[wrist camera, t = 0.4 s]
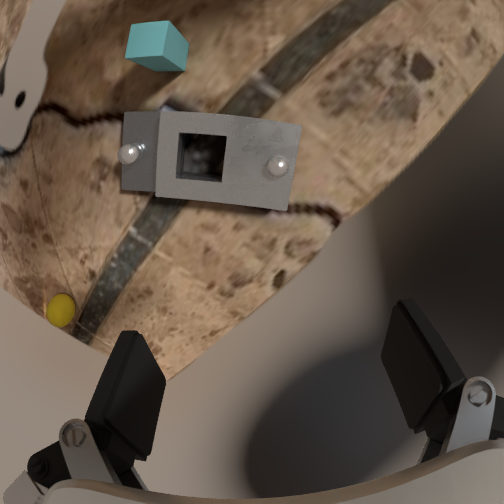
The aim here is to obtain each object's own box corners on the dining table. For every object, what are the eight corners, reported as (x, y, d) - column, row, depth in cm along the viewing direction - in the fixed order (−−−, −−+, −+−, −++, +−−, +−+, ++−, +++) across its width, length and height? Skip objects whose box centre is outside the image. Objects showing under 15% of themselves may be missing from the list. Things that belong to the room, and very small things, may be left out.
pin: (160, 44, 26) (131, 24, 17) (189, 44, 27) (169, 20, 18) (155, 71, 28) (124, 58, 19) (184, 71, 28) (162, 55, 20)
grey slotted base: (130, 111, 30) (114, 112, 26) (296, 124, 32) (303, 125, 28) (127, 185, 35) (112, 195, 31) (282, 201, 37) (287, 213, 33)
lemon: (58, 282, 43) (37, 306, 36) (80, 291, 44) (61, 318, 37) (61, 303, 45) (42, 328, 38) (82, 312, 46) (65, 339, 39)
